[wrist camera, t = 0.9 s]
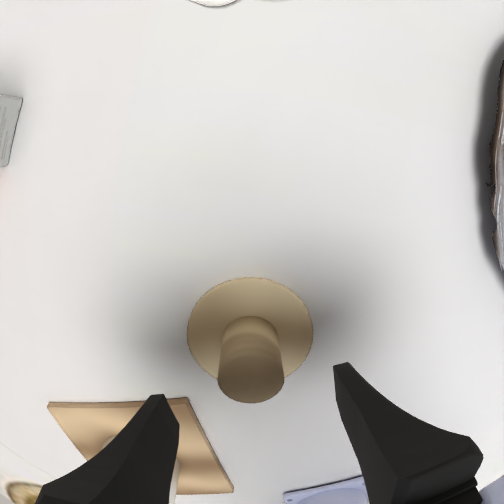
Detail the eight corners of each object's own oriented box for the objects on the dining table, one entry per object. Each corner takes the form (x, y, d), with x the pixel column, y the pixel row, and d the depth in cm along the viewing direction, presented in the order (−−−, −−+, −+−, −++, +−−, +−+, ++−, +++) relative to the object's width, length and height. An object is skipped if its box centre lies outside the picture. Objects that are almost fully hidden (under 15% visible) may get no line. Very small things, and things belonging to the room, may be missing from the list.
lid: (316, 366, 19) (330, 413, 15) (208, 385, 19) (201, 434, 15) (300, 263, 17) (317, 299, 13) (173, 289, 17) (154, 330, 13)
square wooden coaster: (233, 487, 23) (233, 492, 22) (115, 486, 23) (114, 490, 23) (186, 397, 19) (185, 403, 18) (49, 402, 20) (46, 407, 19)
